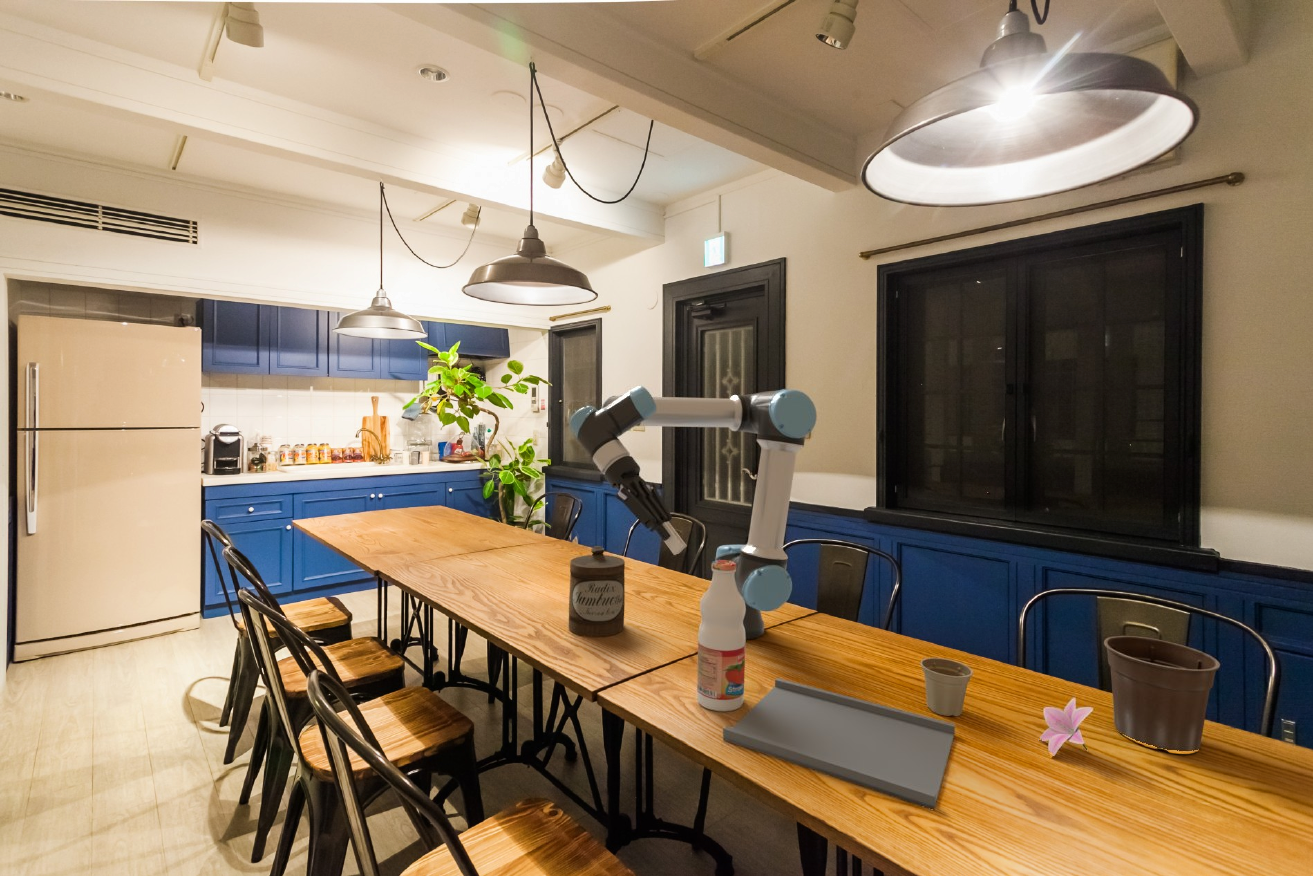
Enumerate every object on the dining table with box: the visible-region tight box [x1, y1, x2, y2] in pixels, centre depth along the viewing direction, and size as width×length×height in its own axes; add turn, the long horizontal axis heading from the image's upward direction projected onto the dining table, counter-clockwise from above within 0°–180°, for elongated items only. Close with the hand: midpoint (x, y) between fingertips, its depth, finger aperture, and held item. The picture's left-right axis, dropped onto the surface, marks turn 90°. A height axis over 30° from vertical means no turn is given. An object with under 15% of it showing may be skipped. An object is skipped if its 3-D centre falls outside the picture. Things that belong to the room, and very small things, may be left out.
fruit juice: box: [696, 560, 747, 712], centre depth 120 cm, size 9×9×28 cm
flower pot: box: [919, 657, 974, 717], centre depth 120 cm, size 9×9×9 cm
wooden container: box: [568, 545, 626, 638], centre depth 162 cm, size 15×15×22 cm
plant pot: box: [1103, 635, 1221, 751], centre depth 111 cm, size 16×16×16 cm
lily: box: [1039, 697, 1094, 757], centre depth 105 cm, size 11×11×9 cm
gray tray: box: [722, 677, 956, 811], centre depth 108 cm, size 34×26×2 cm
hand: (680, 550), depth 125 cm, fingers closed
